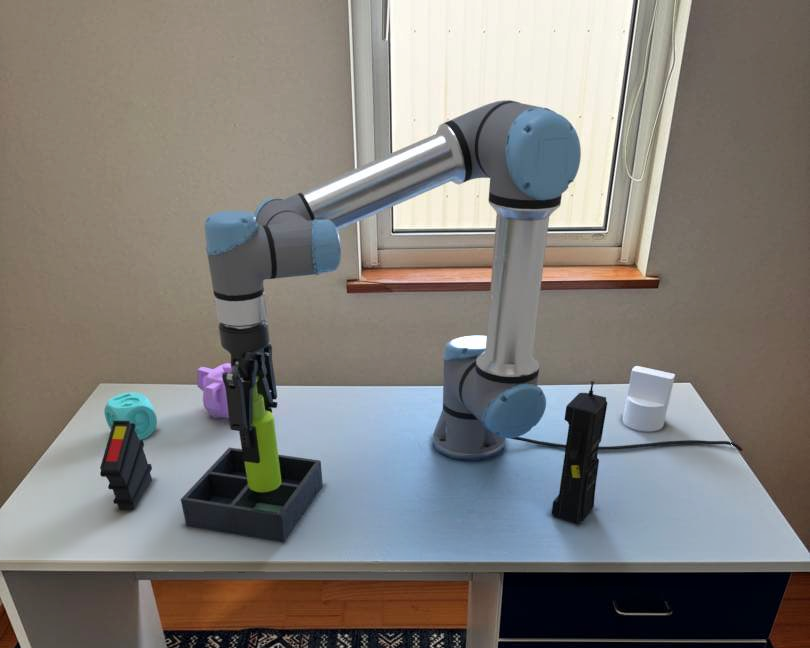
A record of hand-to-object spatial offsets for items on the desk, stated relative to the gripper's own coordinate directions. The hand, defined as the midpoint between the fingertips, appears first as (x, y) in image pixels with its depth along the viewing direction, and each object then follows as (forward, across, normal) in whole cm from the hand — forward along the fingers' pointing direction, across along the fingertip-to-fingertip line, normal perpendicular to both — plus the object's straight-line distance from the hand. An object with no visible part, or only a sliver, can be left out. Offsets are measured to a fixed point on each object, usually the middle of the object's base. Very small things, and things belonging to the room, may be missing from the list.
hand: (259, 451), depth 130 cm
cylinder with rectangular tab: (+15, -59, +65) cm, 89 cm away
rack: (+15, -5, -5) cm, 16 cm away
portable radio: (+15, -18, +53) cm, 58 cm away
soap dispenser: (+7, 0, 0) cm, 7 cm away
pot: (+15, -39, -26) cm, 49 cm away
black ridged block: (+15, -1, -29) cm, 32 cm away
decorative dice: (+15, -24, -43) cm, 51 cm away
